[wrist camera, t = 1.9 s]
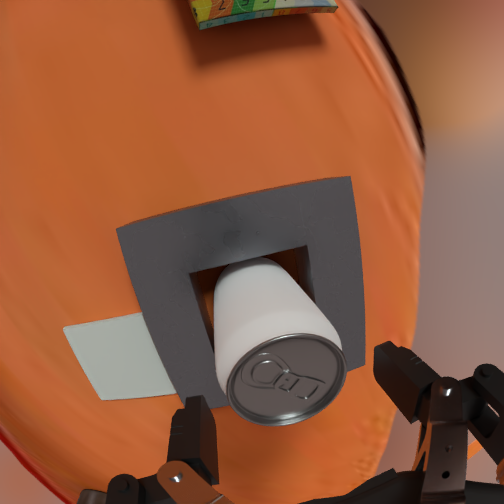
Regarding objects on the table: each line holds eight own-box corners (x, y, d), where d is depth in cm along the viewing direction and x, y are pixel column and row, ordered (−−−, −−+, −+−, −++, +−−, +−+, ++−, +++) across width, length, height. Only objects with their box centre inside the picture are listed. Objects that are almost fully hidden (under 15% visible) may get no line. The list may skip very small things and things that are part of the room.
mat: (102, 397, 23) (101, 400, 23) (64, 326, 21) (62, 328, 21) (177, 390, 24) (176, 393, 23) (143, 311, 22) (141, 314, 21)
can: (241, 239, 22) (274, 297, 10) (305, 280, 23) (379, 356, 11) (198, 304, 22) (190, 407, 11) (262, 338, 24) (298, 441, 12)
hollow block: (189, 384, 24) (187, 412, 20) (132, 221, 20) (115, 228, 16) (347, 343, 25) (365, 364, 21) (328, 177, 21) (350, 176, 17)
